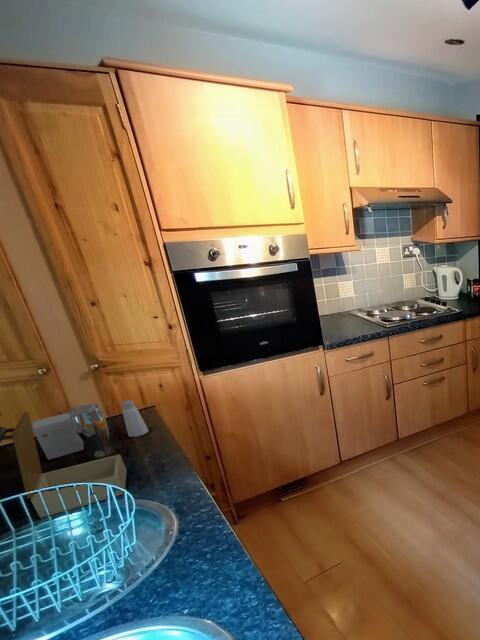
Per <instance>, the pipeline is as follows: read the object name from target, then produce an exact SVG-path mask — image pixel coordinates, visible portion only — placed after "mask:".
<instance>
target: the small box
mask: <svg viewBox="0 0 480 640" xmlns="http://www.w3.org/2000/svg"><path fill="white" fill-rule="evenodd" d="M31 425H32V430H33V434H34V436H35V437H36V440H37V441H38V443H39V445H40V448H41V449H42V451H43V453H44V455H45V458H46V459H47V460H48V461H49V460H53V459H57V458H60V457H63V456H67V455H70V454H74V453H78V452H81V451H84V450H85V447H84V446H85V445H84V443H83V442H82V440H81V439H80V438H79V436H78V435H77V434H76V432H75V431H74V429H73V427H72V424H71V421H70V418H69V415H68V412H65V413H62V414H58V415H52V416H50V417H45V418H41V419H37V420H32V421H31Z"/></svg>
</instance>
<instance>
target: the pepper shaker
mask: <svg viewBox="0 0 480 640" xmlns="http://www.w3.org/2000/svg"><path fill="white" fill-rule="evenodd" d="M120 404H121V406H122V410H121V411H122V415H123V419H124V424H125V427H126V432H127V435H128V437H129V438H137V437H141V436H143V435H146V434H147V433H148V432H149V428H148V426H147V424H146V422H145V420H144V418H143V417H142V415H141V413H140V410H139V408H138V407H137V406H135V404H134V400H132V399H128V400H124V401H122V402H120Z"/></svg>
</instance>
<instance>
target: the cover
mask: <svg viewBox="0 0 480 640" xmlns="http://www.w3.org/2000/svg"><path fill="white" fill-rule="evenodd" d="M7 433H11V434H8V435H7ZM35 439H36V438H35V433H34V431H33V429H32V421H31V417H30V412H28V411H27V412H26V411H25V412H23V414H22V415H21V417H20V419H19V420H18V422H17V424H16V426H15V427H13V428H12V427H11V428H7V427H5V426H0V443H2V441H6V440H13V445H14V449H15V453H16V457H17V461H18V466H19V470H20V474H21V479H22V483H23V487H24V491H25V493H26V492H30V491H34V490H35V489H36V486H37V484H38V481H39V478H40V476H41V474H43V473H42V472H43V471H42V466H41V461H40V457H39V453H38V449H37V443H36V440H35ZM25 495H26V494H25ZM32 497H33V494H29V495H26V499H31V498H32Z"/></svg>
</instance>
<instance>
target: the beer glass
mask: <svg viewBox="0 0 480 640" xmlns="http://www.w3.org/2000/svg"><path fill="white" fill-rule="evenodd" d="M67 413H68V415H69V418H70V421H71V424H72V427H73V429H74V431H75V432H76V434H77V435H78V436H79V438H80V439H81V440H82V442H83V445H84V446H85V448H86V450H87V455H88V459H89V460H90V461H95V460H99V459H103V458H107V457H111V456H115V455H116V454H117V452H118V451H117V449H116V447H115V446H114V445H113V443H112V442H111V438H110V432H109V426H108V422H107V418H106V417H105V414H104V412H103V411H102V409H101V407H100V404H97V403H88V404H82V405H79V406H75V407H73V408H70V409H69V410H68V411H67Z"/></svg>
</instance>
